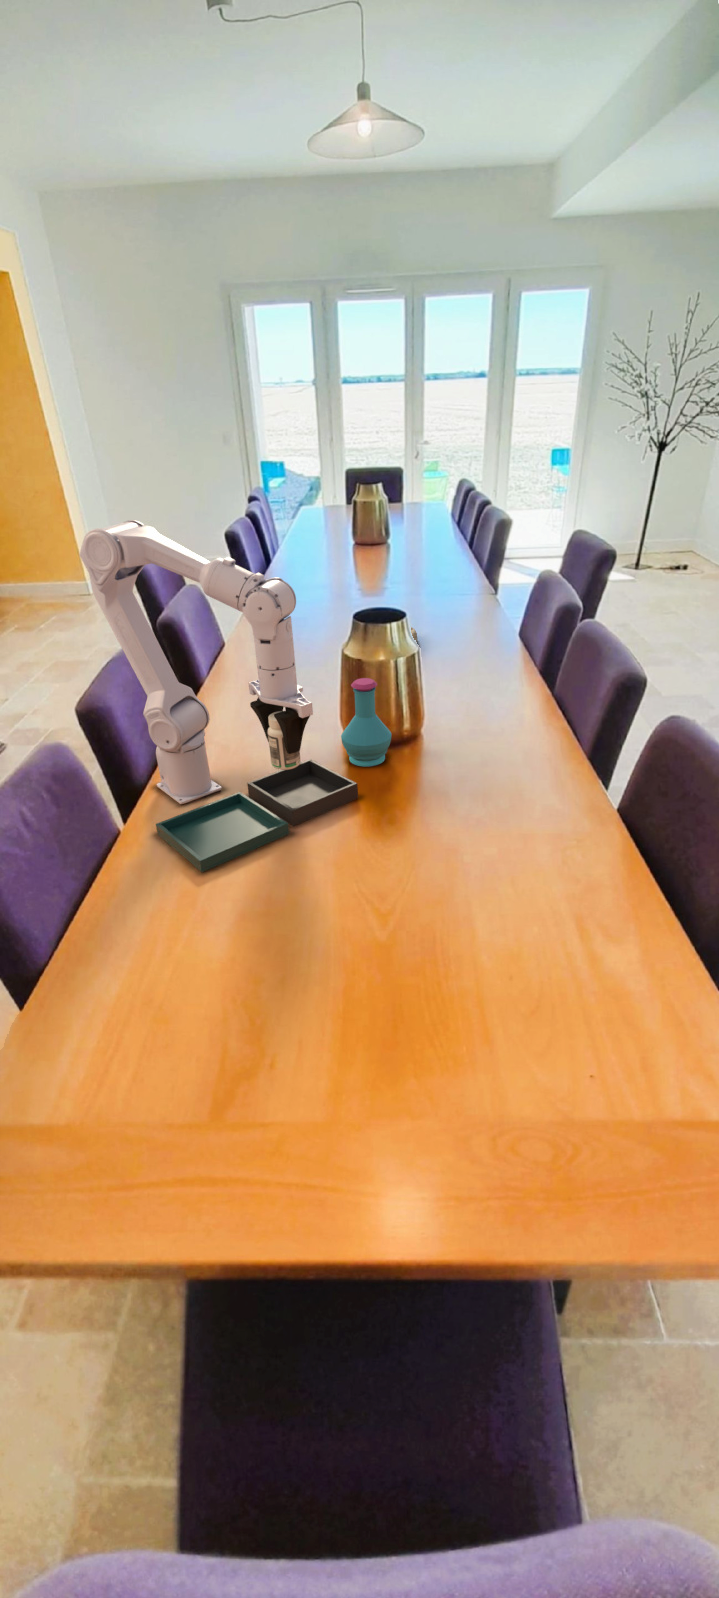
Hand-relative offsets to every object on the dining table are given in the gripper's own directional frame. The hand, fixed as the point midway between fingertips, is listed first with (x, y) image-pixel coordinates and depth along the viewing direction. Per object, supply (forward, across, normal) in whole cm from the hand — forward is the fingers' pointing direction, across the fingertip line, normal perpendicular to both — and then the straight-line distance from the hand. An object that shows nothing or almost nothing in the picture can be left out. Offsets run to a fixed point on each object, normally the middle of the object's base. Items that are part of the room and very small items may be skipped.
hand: (284, 746), depth 114 cm
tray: (+10, -1, +13) cm, 17 cm away
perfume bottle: (+10, +4, -20) cm, 23 cm away
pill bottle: (+3, 0, 0) cm, 3 cm away
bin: (+10, 0, -3) cm, 11 cm away
